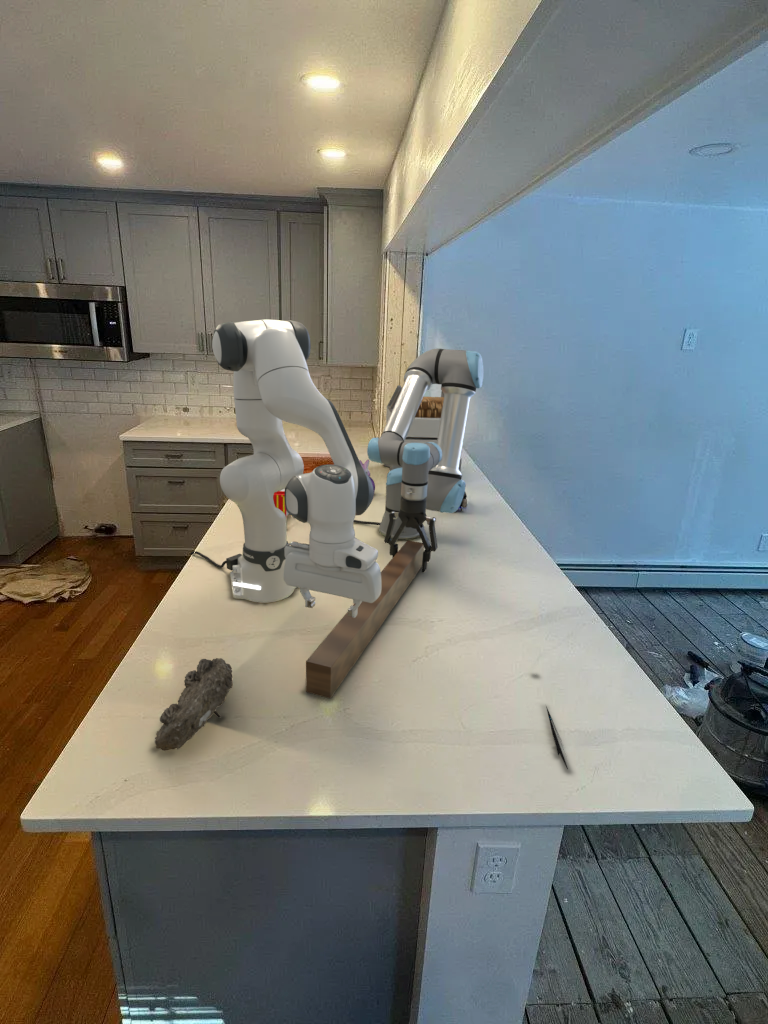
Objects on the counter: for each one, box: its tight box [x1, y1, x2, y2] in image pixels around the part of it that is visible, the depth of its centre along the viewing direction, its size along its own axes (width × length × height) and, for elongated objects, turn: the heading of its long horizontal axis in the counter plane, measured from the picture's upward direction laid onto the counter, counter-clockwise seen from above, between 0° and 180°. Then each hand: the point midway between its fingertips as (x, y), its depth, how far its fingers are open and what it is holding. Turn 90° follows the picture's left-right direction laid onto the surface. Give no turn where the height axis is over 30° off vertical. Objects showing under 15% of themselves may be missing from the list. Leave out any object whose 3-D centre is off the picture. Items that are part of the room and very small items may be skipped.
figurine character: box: [457, 491, 468, 512], centre depth 228 cm, size 7×8×15 cm
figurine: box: [359, 459, 376, 494], centre depth 237 cm, size 9×10×15 cm
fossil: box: [154, 657, 234, 752], centre depth 107 cm, size 22×10×15 cm
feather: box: [535, 673, 569, 770], centre depth 112 cm, size 2×28×2 cm
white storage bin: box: [383, 384, 463, 472], centre depth 268 cm, size 34×33×41 cm
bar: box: [305, 540, 425, 699], centre depth 145 cm, size 69×6×7 cm, turn 161°
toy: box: [273, 489, 290, 518], centre depth 210 cm, size 12×13×30 cm
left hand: (331, 611), depth 115 cm, fingers open, 8 cm apart
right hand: (409, 567), depth 172 cm, fingers open, 9 cm apart
